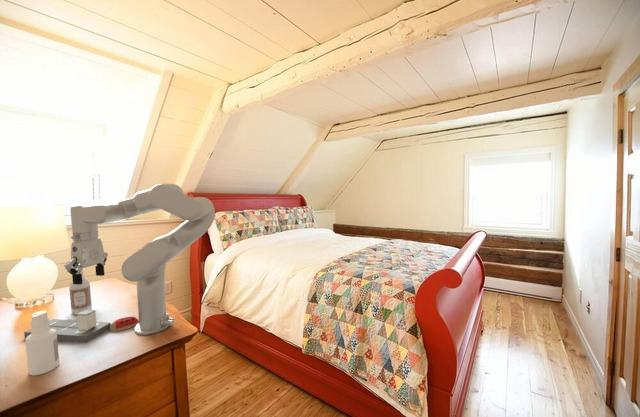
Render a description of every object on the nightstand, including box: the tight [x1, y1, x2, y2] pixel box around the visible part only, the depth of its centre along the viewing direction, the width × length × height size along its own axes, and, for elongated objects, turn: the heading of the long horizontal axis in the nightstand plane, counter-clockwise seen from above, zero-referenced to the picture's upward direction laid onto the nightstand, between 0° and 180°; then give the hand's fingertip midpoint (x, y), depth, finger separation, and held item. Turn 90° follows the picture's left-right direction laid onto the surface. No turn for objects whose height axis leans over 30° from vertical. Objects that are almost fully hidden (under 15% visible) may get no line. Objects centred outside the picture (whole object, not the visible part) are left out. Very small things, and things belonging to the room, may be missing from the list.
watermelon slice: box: [109, 316, 139, 332], centre depth 111 cm, size 7×10×4 cm
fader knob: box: [76, 309, 97, 330], centre depth 104 cm, size 4×4×6 cm
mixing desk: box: [23, 318, 112, 344], centre depth 106 cm, size 26×10×3 cm, turn 84°
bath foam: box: [69, 268, 93, 316], centre depth 123 cm, size 7×7×20 cm
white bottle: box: [24, 310, 60, 376], centre depth 85 cm, size 7×7×18 cm
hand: (89, 279), depth 107 cm, fingers open, 9 cm apart
